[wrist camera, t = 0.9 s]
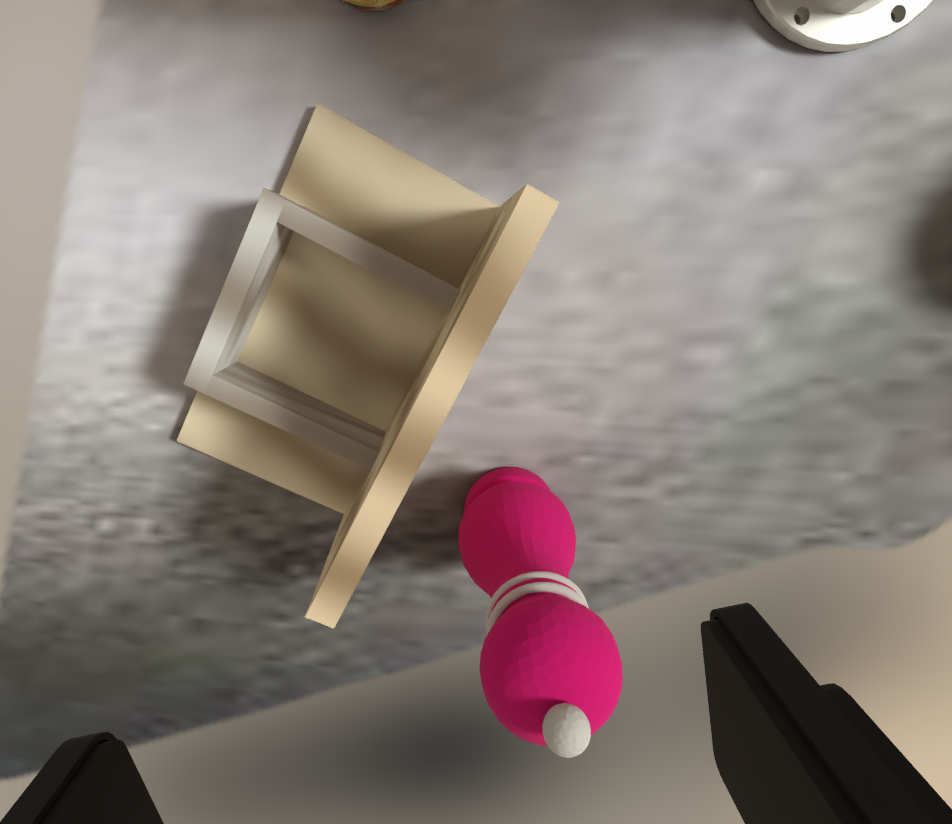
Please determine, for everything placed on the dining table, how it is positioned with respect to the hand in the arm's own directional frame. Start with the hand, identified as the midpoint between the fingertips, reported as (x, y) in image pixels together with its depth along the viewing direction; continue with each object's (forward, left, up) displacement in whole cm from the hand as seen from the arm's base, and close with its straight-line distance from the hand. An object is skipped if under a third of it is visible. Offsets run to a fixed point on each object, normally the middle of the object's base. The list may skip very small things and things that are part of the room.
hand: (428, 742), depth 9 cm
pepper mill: (+6, +9, -29) cm, 31 cm away
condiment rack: (0, -6, -29) cm, 29 cm away
